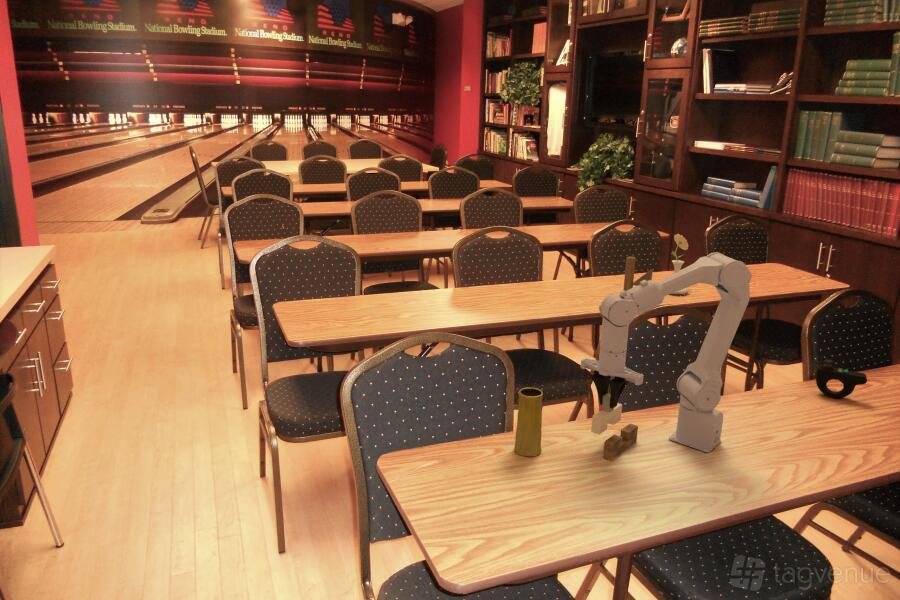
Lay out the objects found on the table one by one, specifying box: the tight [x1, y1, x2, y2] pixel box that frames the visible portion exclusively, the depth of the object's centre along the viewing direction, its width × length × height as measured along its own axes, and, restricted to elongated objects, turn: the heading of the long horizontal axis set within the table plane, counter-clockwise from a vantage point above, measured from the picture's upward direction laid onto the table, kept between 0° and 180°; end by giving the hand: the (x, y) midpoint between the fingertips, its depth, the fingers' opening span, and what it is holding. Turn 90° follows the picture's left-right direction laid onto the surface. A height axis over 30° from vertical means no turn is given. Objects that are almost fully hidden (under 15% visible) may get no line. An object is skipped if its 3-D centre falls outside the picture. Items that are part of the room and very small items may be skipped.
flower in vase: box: [670, 233, 690, 295], centre depth 282 cm, size 13×11×25 cm
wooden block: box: [622, 256, 654, 291], centre depth 267 cm, size 4×11×18 cm, turn 54°
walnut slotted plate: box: [602, 423, 639, 461], centre depth 150 cm, size 12×2×4 cm, turn 138°
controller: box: [813, 359, 868, 399], centre depth 180 cm, size 4×12×10 cm, turn 58°
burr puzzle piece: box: [591, 392, 623, 435], centre depth 151 cm, size 10×2×8 cm, turn 138°
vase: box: [513, 387, 544, 458], centre depth 148 cm, size 6×6×14 cm
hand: (608, 405), depth 151 cm, fingers closed on burr puzzle piece, 2 cm apart
